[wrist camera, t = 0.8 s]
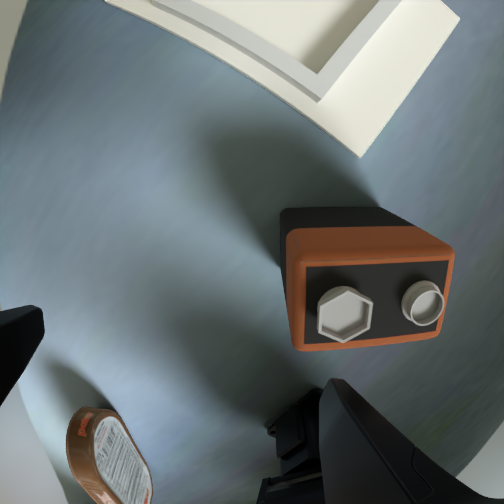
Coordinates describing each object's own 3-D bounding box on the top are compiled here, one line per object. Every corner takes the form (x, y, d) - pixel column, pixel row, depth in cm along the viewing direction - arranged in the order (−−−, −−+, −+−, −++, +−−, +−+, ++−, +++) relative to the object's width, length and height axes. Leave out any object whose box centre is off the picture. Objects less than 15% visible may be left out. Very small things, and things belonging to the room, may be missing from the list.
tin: (86, 388, 25) (48, 451, 17) (114, 391, 25) (78, 459, 17) (138, 478, 30) (121, 532, 22) (163, 481, 30) (148, 537, 21)
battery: (278, 206, 20) (295, 260, 10) (383, 205, 20) (472, 253, 10) (280, 273, 21) (293, 370, 12) (379, 269, 21) (450, 351, 11)
